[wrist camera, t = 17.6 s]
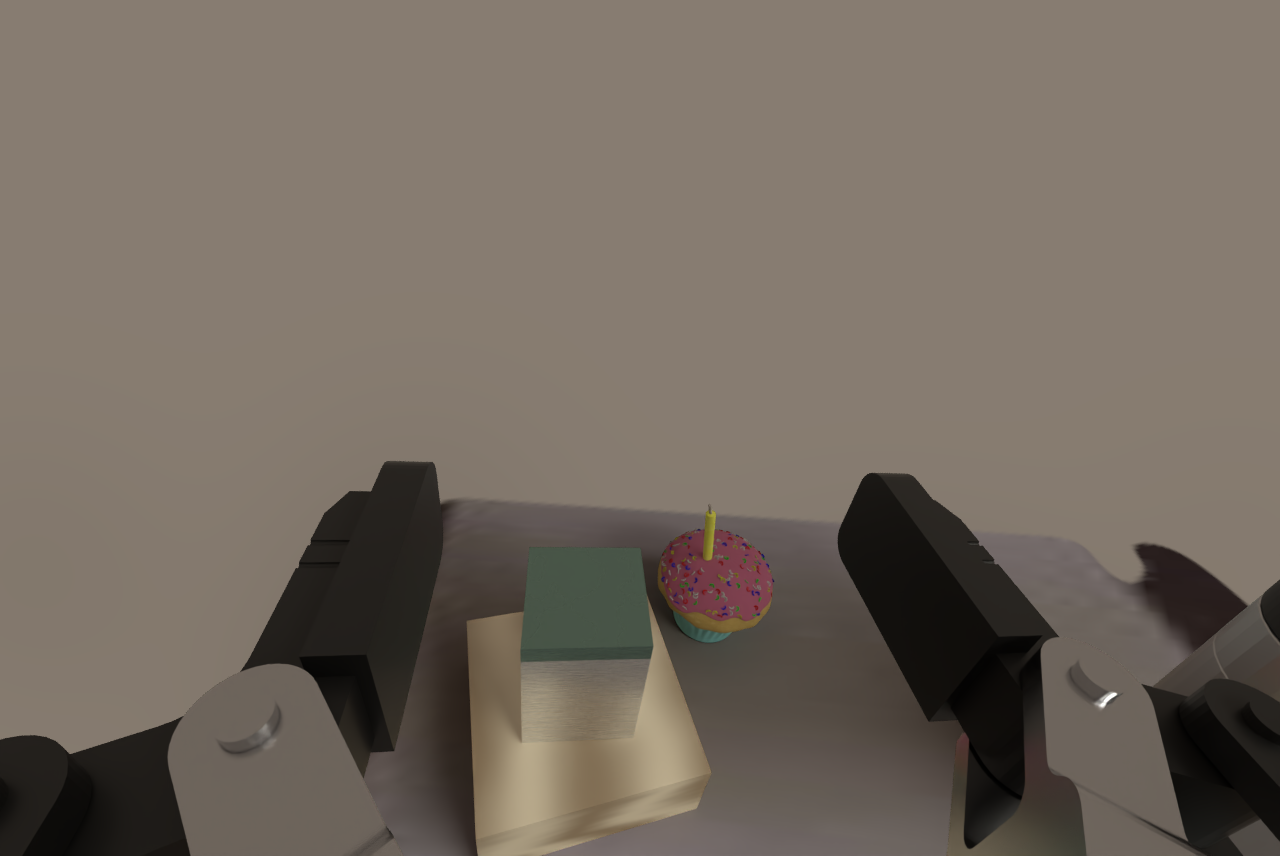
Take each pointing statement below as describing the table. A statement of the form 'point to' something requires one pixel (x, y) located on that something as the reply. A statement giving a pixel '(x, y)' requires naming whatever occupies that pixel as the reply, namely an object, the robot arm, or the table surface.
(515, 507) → the table surface
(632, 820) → the birch box
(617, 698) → the tea tin
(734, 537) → the cupcake
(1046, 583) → the table surface
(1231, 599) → the table surface
